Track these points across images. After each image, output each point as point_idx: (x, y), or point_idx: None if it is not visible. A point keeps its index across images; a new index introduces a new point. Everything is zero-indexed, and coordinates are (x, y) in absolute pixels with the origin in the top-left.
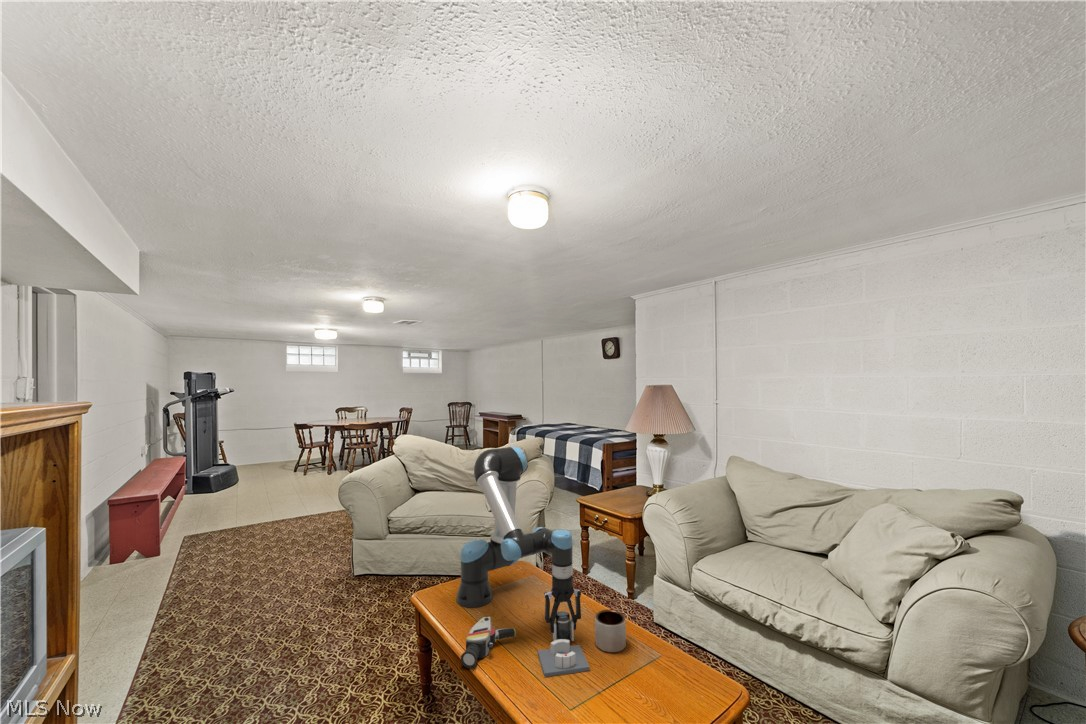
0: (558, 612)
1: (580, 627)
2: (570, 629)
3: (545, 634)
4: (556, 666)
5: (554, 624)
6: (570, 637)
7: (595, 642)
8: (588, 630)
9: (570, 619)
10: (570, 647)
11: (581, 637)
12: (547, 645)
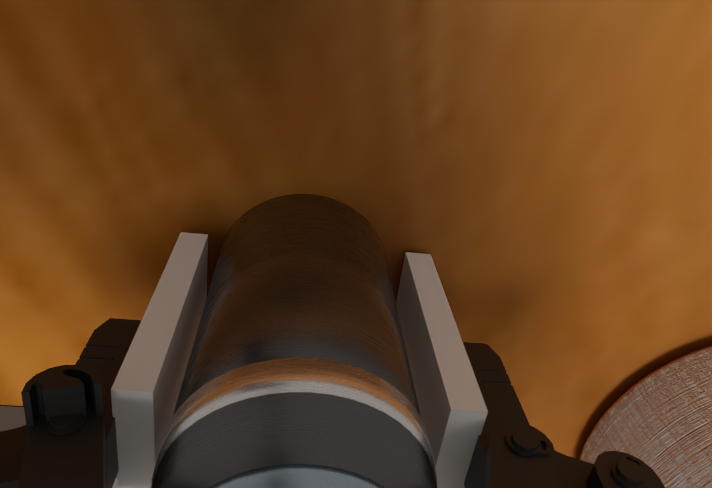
0: (232, 459)
1: (643, 89)
2: (416, 344)
3: (102, 88)
4: None
5: (124, 484)
6: (402, 277)
7: (594, 438)
8: (689, 186)
9: (452, 433)
10: None
11: (529, 284)
12: (93, 307)
